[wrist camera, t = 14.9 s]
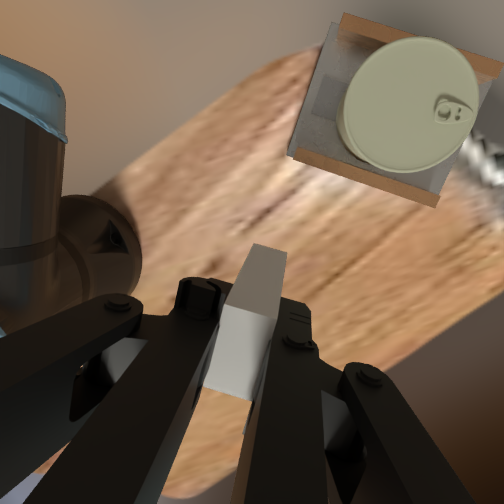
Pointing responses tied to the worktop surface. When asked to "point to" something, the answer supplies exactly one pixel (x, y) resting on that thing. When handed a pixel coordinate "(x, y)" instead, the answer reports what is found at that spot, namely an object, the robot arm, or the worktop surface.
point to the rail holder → (330, 93)
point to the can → (409, 105)
